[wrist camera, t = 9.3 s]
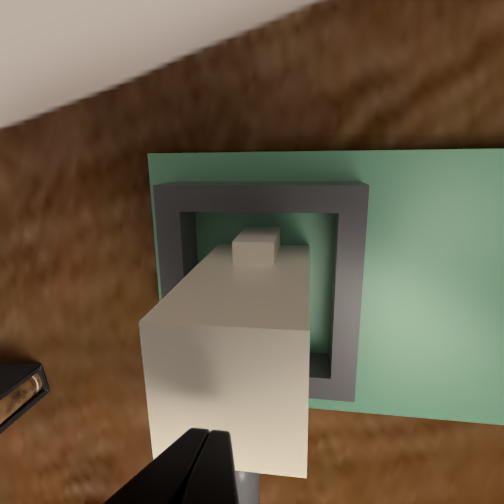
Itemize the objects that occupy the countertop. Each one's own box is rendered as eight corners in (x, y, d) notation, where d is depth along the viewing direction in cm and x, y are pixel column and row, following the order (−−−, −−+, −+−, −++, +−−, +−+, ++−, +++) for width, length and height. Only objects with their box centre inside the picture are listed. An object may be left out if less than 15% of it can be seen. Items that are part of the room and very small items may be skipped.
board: (602, 147, 14) (677, 145, 11) (542, 414, 17) (590, 466, 14) (156, 153, 17) (125, 153, 14) (174, 383, 20) (151, 422, 17)
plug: (309, 226, 15) (310, 296, 8) (306, 391, 17) (304, 574, 10) (217, 226, 16) (135, 290, 8) (224, 385, 18) (163, 553, 10)
